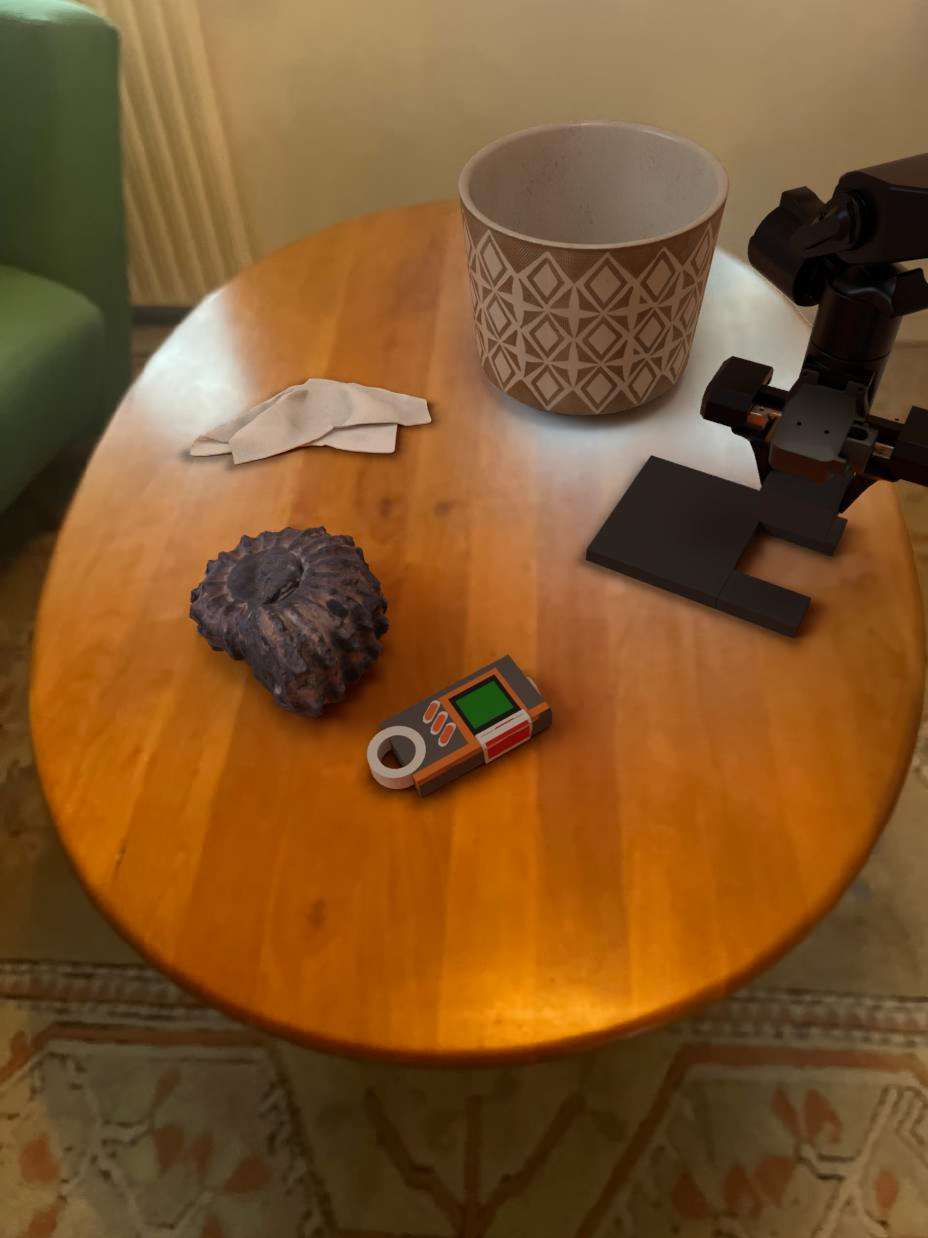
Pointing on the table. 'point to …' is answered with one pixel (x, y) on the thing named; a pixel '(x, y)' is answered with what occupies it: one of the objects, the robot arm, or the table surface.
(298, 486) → the table surface
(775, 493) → the dark grey square block
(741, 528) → the flat black pad
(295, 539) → the seashell
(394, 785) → the electronic device
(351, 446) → the cloth
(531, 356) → the planter
